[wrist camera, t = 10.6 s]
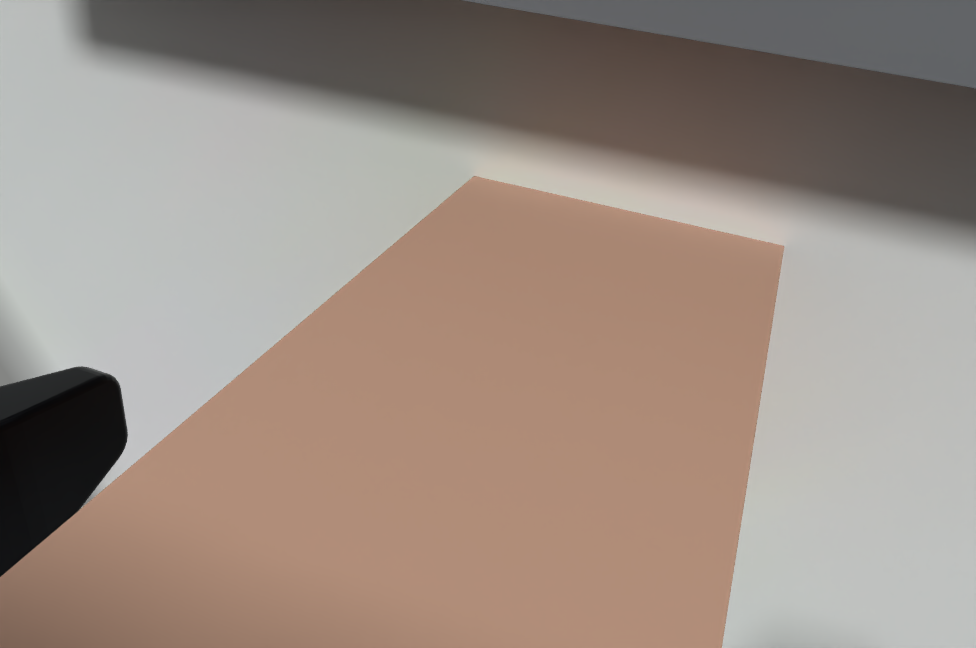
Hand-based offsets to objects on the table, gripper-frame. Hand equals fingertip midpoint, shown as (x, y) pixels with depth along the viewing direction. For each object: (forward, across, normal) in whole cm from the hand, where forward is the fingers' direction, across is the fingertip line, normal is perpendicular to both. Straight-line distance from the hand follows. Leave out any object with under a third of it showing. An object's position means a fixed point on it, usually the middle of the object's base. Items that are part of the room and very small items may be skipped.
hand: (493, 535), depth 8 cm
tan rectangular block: (+4, 0, 0) cm, 4 cm away
